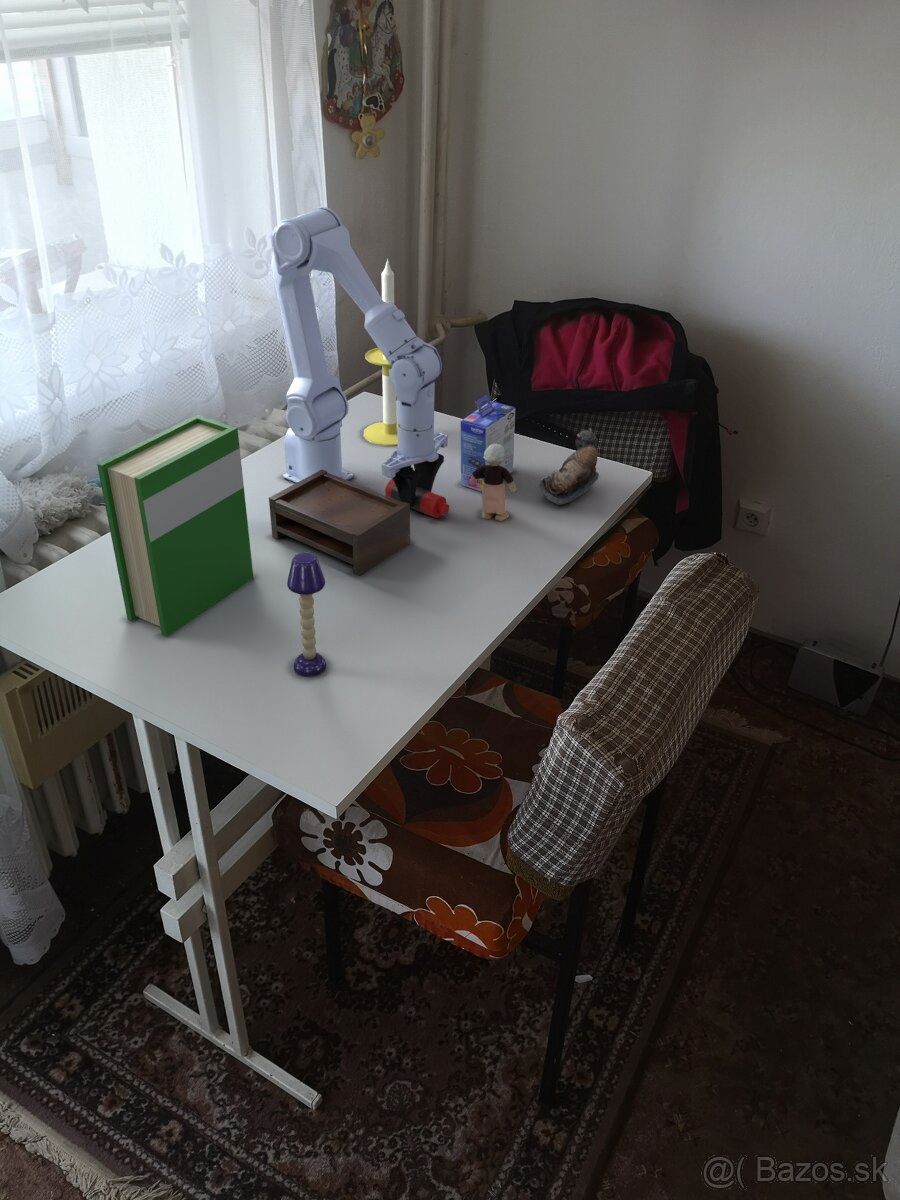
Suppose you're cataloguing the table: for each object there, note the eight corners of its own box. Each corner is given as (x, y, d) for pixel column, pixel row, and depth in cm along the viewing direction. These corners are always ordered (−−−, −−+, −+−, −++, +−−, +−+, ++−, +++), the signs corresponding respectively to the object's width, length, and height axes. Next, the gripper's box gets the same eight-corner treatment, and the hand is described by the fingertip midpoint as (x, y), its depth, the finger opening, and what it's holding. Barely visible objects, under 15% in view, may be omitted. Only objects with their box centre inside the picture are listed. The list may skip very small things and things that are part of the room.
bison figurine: (566, 514, 169) (571, 459, 163) (530, 500, 172) (534, 446, 166) (603, 487, 176) (610, 433, 171) (568, 475, 180) (574, 422, 174)
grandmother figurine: (515, 511, 169) (519, 440, 162) (514, 522, 166) (518, 451, 159) (468, 508, 170) (471, 437, 162) (466, 519, 167) (469, 448, 159)
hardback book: (166, 637, 139) (139, 479, 125) (127, 619, 142) (96, 463, 129) (253, 577, 151) (237, 427, 138) (215, 562, 155) (196, 414, 141)
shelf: (272, 537, 161) (268, 497, 157) (324, 507, 169) (322, 469, 165) (359, 576, 152) (358, 535, 148) (410, 543, 160) (410, 503, 156)
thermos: (384, 502, 170) (384, 482, 168) (398, 494, 173) (398, 474, 171) (438, 524, 165) (439, 504, 163) (452, 515, 167) (453, 495, 165)
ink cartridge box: (487, 463, 183) (490, 386, 175) (514, 471, 181) (519, 394, 172) (457, 485, 176) (459, 406, 168) (485, 494, 174) (488, 414, 165)
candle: (398, 450, 186) (396, 270, 168) (352, 437, 190) (345, 260, 172) (427, 430, 193) (428, 255, 175) (382, 418, 198) (379, 246, 179)
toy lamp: (294, 655, 136) (285, 548, 127) (330, 654, 137) (323, 547, 127) (293, 678, 132) (284, 569, 123) (329, 676, 133) (323, 568, 123)
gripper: (406, 447, 154) (406, 525, 161) (463, 415, 163) (461, 490, 171) (370, 434, 157) (372, 511, 165) (428, 403, 167) (427, 478, 175)
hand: (415, 500), depth 168 cm, fingers closed on thermos, 4 cm apart
